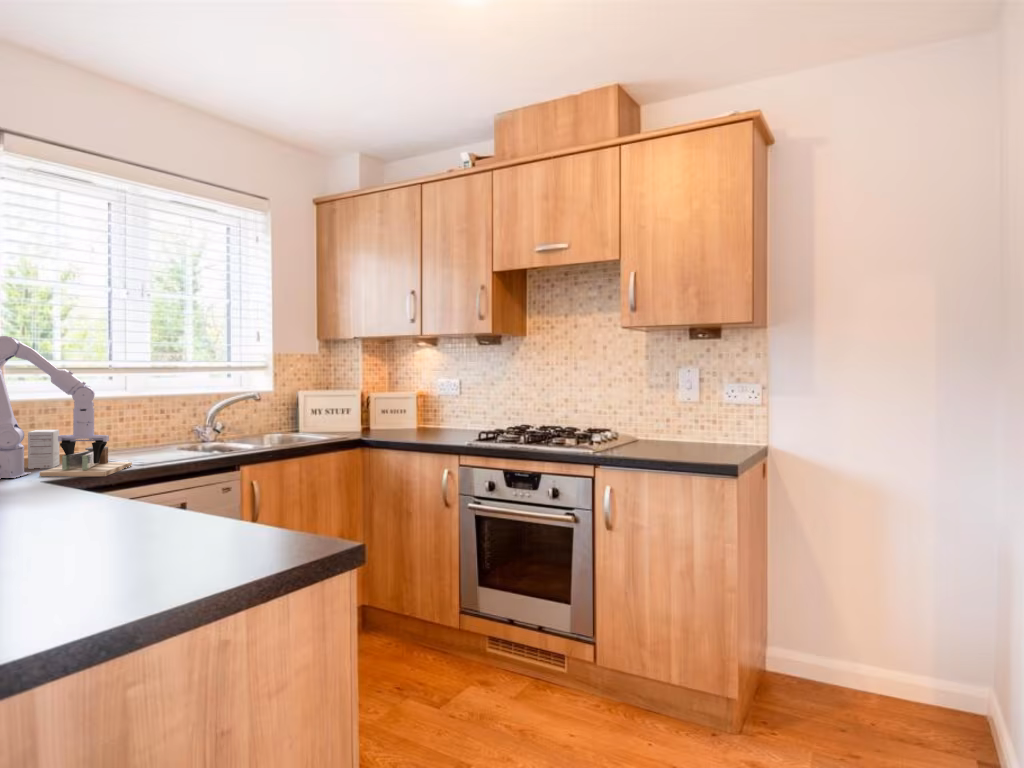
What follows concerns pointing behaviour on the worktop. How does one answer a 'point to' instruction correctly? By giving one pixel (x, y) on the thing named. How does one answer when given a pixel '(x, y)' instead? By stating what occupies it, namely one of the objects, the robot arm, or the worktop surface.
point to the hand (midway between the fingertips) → (83, 463)
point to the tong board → (97, 470)
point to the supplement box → (43, 449)
